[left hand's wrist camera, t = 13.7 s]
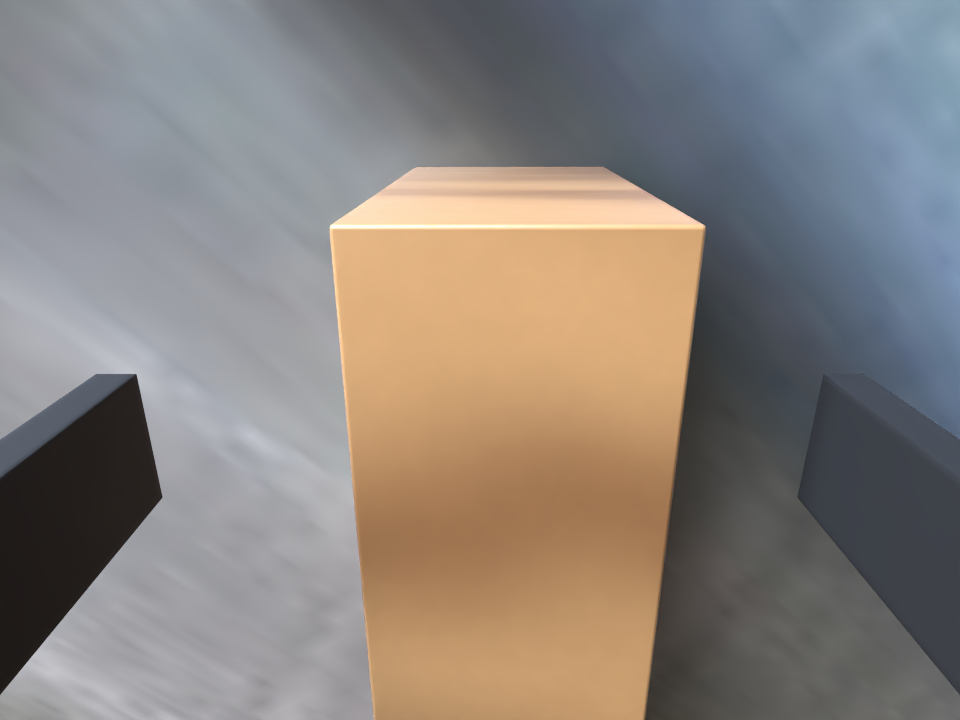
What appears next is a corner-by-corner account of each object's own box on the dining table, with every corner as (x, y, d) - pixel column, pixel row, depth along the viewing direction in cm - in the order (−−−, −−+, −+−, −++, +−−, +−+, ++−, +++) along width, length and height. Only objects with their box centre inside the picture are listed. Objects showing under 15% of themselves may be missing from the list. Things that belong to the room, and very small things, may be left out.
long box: (414, 167, 20) (328, 224, 10) (605, 166, 20) (708, 225, 10) (437, 746, 30) (404, 1069, 20) (567, 749, 29) (600, 1077, 19)
